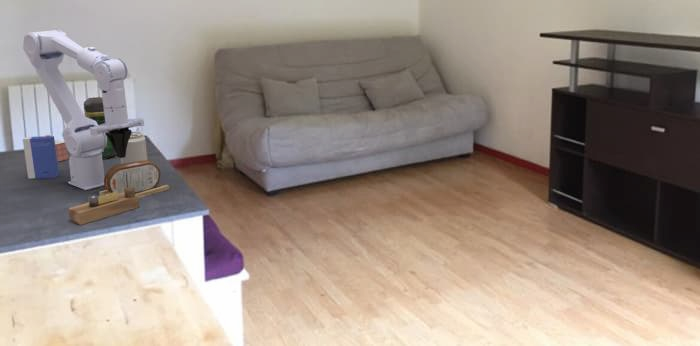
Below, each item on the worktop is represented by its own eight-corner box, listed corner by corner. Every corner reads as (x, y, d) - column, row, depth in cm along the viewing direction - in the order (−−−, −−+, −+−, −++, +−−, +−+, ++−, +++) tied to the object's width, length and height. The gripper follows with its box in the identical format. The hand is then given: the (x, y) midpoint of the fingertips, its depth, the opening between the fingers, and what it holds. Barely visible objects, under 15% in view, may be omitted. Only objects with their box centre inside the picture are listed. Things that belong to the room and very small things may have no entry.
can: (140, 177, 200) (137, 137, 196) (116, 176, 201) (112, 135, 198) (153, 170, 207) (149, 130, 203) (129, 168, 208) (125, 129, 205)
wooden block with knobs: (69, 220, 168) (67, 200, 166) (128, 202, 180) (126, 184, 178) (80, 225, 165) (78, 205, 163) (139, 207, 176) (137, 188, 175)
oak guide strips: (99, 195, 185) (99, 191, 185) (147, 181, 196) (147, 178, 196) (120, 203, 179) (120, 199, 179) (169, 189, 190) (169, 185, 190)
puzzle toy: (58, 156, 221) (56, 139, 220) (69, 159, 218) (67, 141, 216) (42, 160, 217) (39, 143, 215) (52, 163, 214) (50, 145, 212)
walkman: (59, 174, 203) (53, 134, 199) (56, 177, 200) (50, 137, 196) (31, 175, 202) (25, 135, 198) (27, 178, 199) (21, 137, 196)
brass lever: (92, 207, 167) (91, 198, 167) (87, 204, 169) (86, 196, 168) (118, 199, 172) (118, 191, 172) (114, 197, 174) (113, 189, 173)
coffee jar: (118, 157, 220) (112, 99, 214) (92, 161, 216) (85, 102, 210) (113, 150, 228) (107, 94, 222) (87, 153, 224) (80, 96, 219)
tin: (158, 185, 193) (155, 156, 190) (163, 188, 191) (160, 159, 188) (105, 197, 184) (101, 167, 181) (109, 200, 181) (106, 169, 179)
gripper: (97, 112, 173) (104, 165, 177) (148, 103, 183) (153, 153, 187) (82, 109, 178) (90, 161, 181) (133, 100, 188) (139, 149, 192)
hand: (121, 157), depth 185 cm, fingers closed
